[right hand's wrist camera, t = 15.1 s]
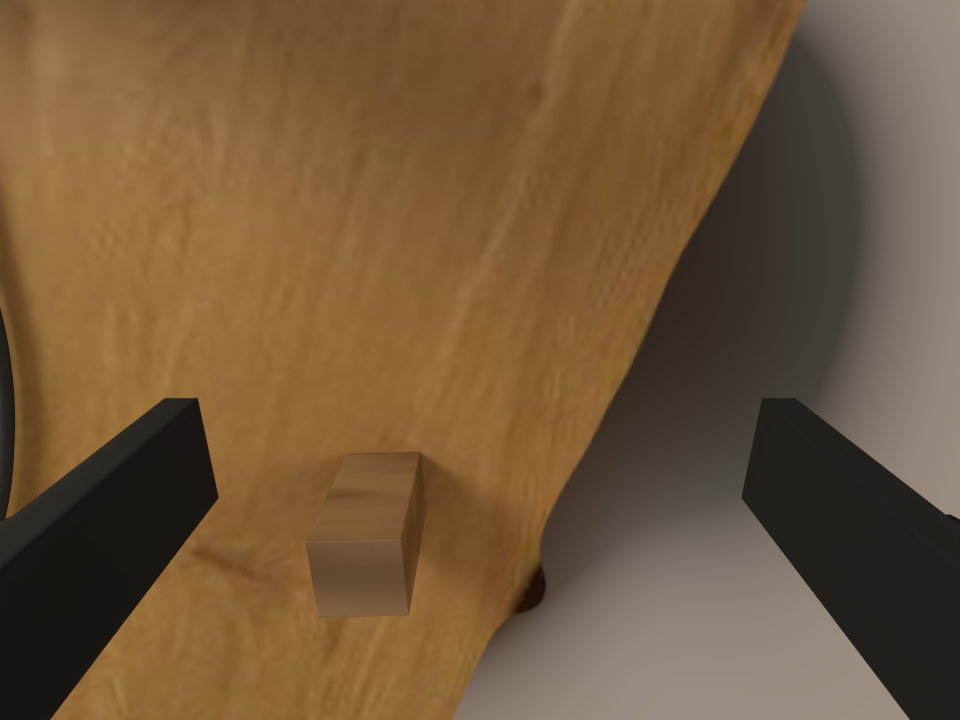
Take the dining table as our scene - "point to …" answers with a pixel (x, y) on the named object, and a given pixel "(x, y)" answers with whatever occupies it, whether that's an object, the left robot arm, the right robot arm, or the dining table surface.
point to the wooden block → (368, 537)
